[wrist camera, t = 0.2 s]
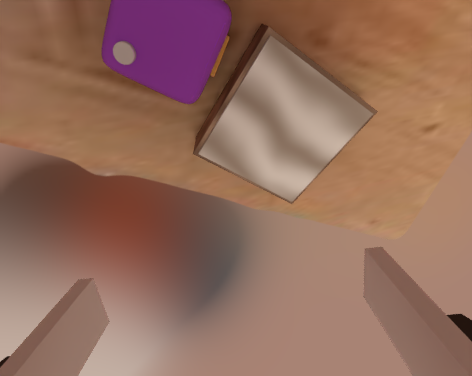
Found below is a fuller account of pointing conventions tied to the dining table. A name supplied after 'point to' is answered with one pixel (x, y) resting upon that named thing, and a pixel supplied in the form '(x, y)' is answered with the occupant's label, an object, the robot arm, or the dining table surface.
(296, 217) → the dining table surface
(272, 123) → the stand
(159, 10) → the toy camera
